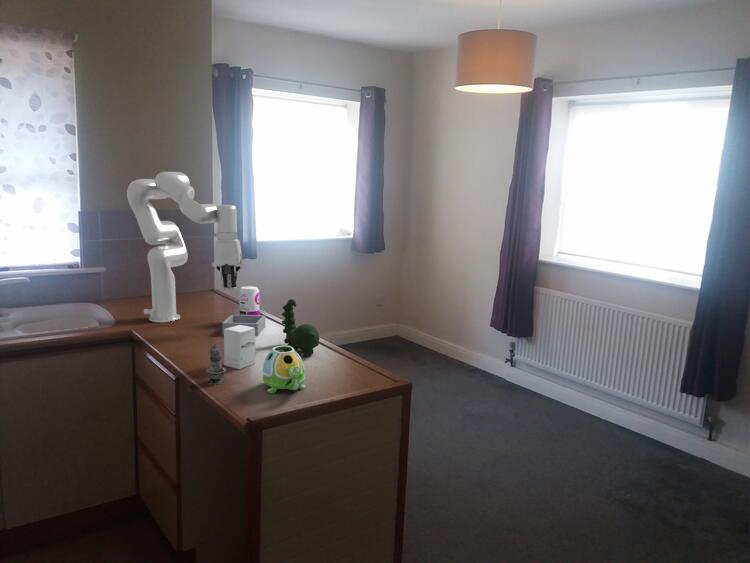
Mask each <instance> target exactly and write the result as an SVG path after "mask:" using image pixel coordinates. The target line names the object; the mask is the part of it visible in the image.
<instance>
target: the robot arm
mask: <svg viewBox="0 0 750 563" xmlns="http://www.w3.org/2000/svg"><path fill="white" fill-rule="evenodd" d="M190 184H191V182H190V179H189V177H188V175H186V174H185V173H184V172H181V171H162V172H160V173H158V174H157V175H156V176H155V178H139V179H135V180H133V181H131V183H129V185H128V186H127V191H126V197H127V201H128V204H129V206H130V208H131V210H132V212H133V213H134V216H135V219H136V221H137V223H138V227H139V229H140V232H141V235H142V237H143V239H144V241H145V243H146V244H149V245H158V246H154V247H153V248H152V247H151V249H150V250H149V251H148V252H147V263H148V266H149V271H150V282H151V283H150V284H151V302H152V303H151V304H152V306H151V307H152V308H151V309H148V308H144V309H143V314H144V315H147V316H148V315H149V317H148V320H149V321H150V322H151V323H152V322H153V323H171V322H170V321H172V322H176V321H175V320H177V321H178V319H179V320H180V319H181V315H180V314H178V313H177V300H176V299H177V296H176V293H177V292H176V278H175V275H174V272H173V271H172V269H171V268H173V267H174V268H175V267H179V266H180V267H181V266H184V265H185V264H186V263H187V262H188V260H189V259H188V258H189V256H188V255H189V254H188V249H187V246H186V243H185V242H184V241H185V240H184V239H183V237H182V233H181V231H180V228H179V227H178V226H177V224H176V223H175V222H173V221H170V220H161V219H160V218H159V215H158V212H157V210H156V208H155V207H154V206H153V204H152V203H151V202H150V201H149V200H164V199H169V198H170V199H171V200H173V201H174V202H175V203H177V204H178V207H179V209H180V211H181V213H182V214H183V215H184V216H185V217H187V218H188V219H190V220H191V221H192V222H194V223H196V224H199V225H200V224H201V225H202V224H203V225H204V224H215V223H216V224H217V225H216V227H217V228H216V229H217V232H216V233H213V237H214V238H217V239H215V242H214V251H213V252H214V254H213V257H214V258H213V261H212V263H211V266H212V267H213V268H215V269H217V270H218V271H219V273H220V278H221V281H222V274H221V266H223V265H225V264H228V265H230V266H234V271H235V279H236V281H237V280H238V272H239V271H240V270H241V269H242V268H244V267H246V263H245V262H244V259H243V254H242V247H241V241H240V239H238V237H239V236H238V216H237V214H238V213H237V206H236V205H233V204H219V203H201V204H200V203H199V202H197V201H196V200H195V199H194V197H195V194H196V192H195V189H194V187H193V186H191V185H190ZM159 244H165V245H159ZM237 282H238V281H237Z"/></svg>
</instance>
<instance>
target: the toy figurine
mask: <svg viewBox="0 0 750 563" xmlns="http://www.w3.org/2000/svg"><path fill="white" fill-rule="evenodd" d="M296 307H297V301H296V300H295V299H294V298H290V299H289V300H287V302H286V303H285V305H283V306H282V309H283V310H284V311H283V312H282V313H281V316H282V317H284V320H282V321H281V324H282V325H284V328H283V329H282V333H283V334H285V338H284V340H283V342H284V344H286V346H291V347H292V348H294V351H296V352H297V351H298V350H300V351H301V354H302V356H304V357H310V356H313V354H314V349H315V348H316V347H319V345H320V339H321V338H320V333H319V331H318V329H317V328H316V327H315V326H314V325H312V324H309V323H303V324H300V325H298V326H297V325H296V319H295V311H294V308H296Z"/></svg>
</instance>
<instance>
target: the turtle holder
mask: <svg viewBox="0 0 750 563" xmlns="http://www.w3.org/2000/svg"><path fill="white" fill-rule="evenodd" d="M278 350H282V351H281V352H280V351H278ZM305 371H306V369H305V366H304V362H303V359H302V357H301V356H300V355H299V353H298V352H297V350H296V351H294V348H292V347H291V346H287V345H278V346H274V347H272V349H271V350H270V351H269V352H268V353H267V355H266V357H265V359H264V362H263V367H262V375H263V376H262V381H263V383H264V384H265V385H266V386H268V387H270V388H268V389H267V392H268V393H269V394H276V393H277V390H290V391H296V390H304V389H305V388H306V385H305V384H303V383H304V382H305V379H306V377H305Z"/></svg>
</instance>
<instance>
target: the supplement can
mask: <svg viewBox="0 0 750 563" xmlns="http://www.w3.org/2000/svg"><path fill="white" fill-rule="evenodd" d="M239 315H260V289H259V288H258V287H257V286H254V285H246V286H241V287H240V289H239Z"/></svg>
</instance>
